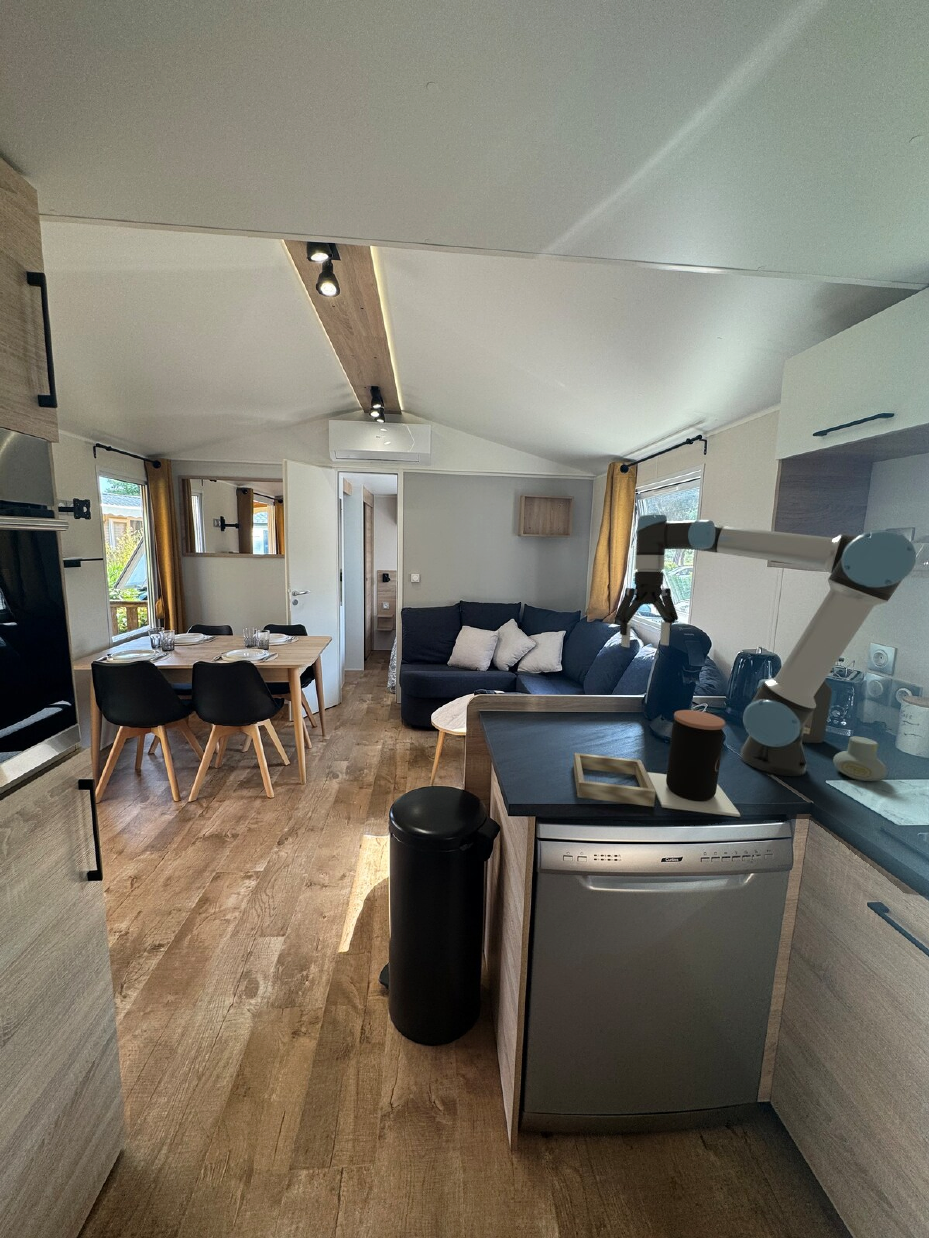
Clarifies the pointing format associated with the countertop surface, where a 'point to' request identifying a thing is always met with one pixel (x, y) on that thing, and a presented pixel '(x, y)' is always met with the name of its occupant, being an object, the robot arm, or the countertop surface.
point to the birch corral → (613, 791)
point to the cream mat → (670, 800)
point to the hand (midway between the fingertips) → (645, 645)
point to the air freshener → (860, 760)
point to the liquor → (818, 716)
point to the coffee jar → (695, 755)
